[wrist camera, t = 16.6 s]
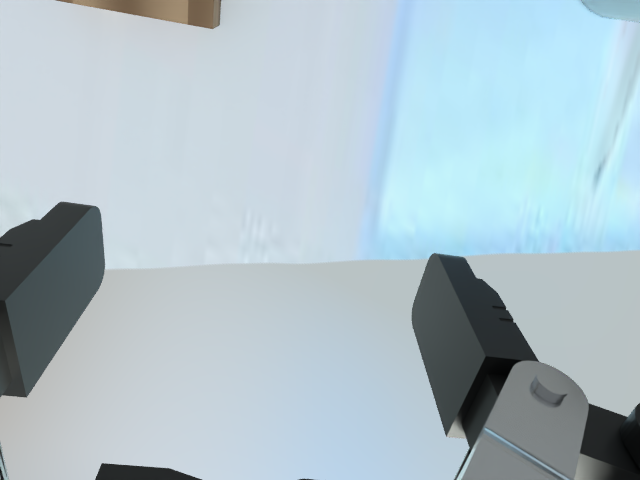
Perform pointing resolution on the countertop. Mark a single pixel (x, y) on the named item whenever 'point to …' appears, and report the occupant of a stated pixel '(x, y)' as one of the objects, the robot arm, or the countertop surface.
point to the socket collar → (164, 9)
